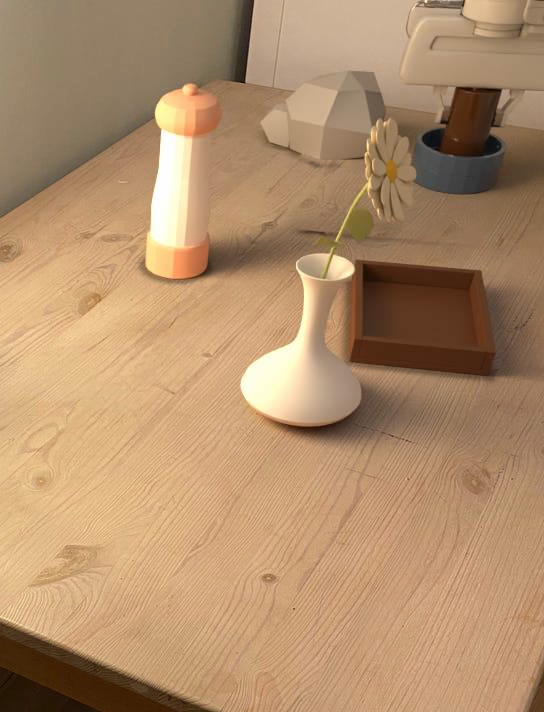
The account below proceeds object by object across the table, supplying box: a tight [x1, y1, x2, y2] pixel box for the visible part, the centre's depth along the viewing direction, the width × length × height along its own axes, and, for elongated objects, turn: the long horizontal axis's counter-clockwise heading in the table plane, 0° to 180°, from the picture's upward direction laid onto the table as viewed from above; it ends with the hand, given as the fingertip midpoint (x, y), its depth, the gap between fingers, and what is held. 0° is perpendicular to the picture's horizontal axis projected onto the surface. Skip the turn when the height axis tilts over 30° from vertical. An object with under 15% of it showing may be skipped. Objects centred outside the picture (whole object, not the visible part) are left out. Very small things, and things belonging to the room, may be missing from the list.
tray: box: [348, 259, 497, 376], centre depth 100 cm, size 14×18×3 cm
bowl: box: [410, 126, 508, 195], centre depth 125 cm, size 11×11×5 cm
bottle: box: [439, 87, 503, 157], centre depth 121 cm, size 6×6×14 cm
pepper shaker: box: [145, 83, 223, 280], centre depth 104 cm, size 7×7×19 cm
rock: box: [259, 70, 387, 161], centre depth 134 cm, size 18×20×10 cm
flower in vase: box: [240, 117, 416, 427], centre depth 83 cm, size 13×11×25 cm
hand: (469, 124), depth 122 cm, fingers closed on bottle, 5 cm apart
